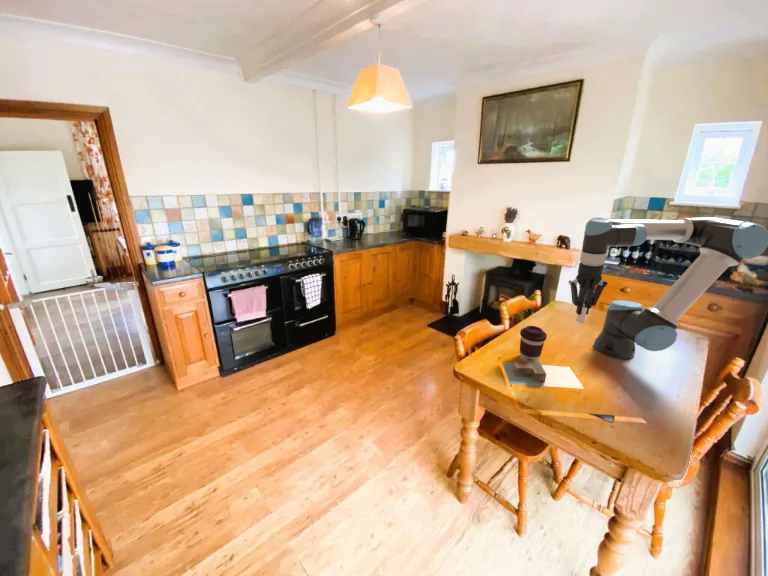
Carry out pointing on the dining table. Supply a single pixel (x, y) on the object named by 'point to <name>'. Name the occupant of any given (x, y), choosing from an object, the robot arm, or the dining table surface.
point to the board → (554, 377)
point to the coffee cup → (531, 342)
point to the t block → (530, 370)
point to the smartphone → (605, 417)
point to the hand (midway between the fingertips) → (580, 321)
